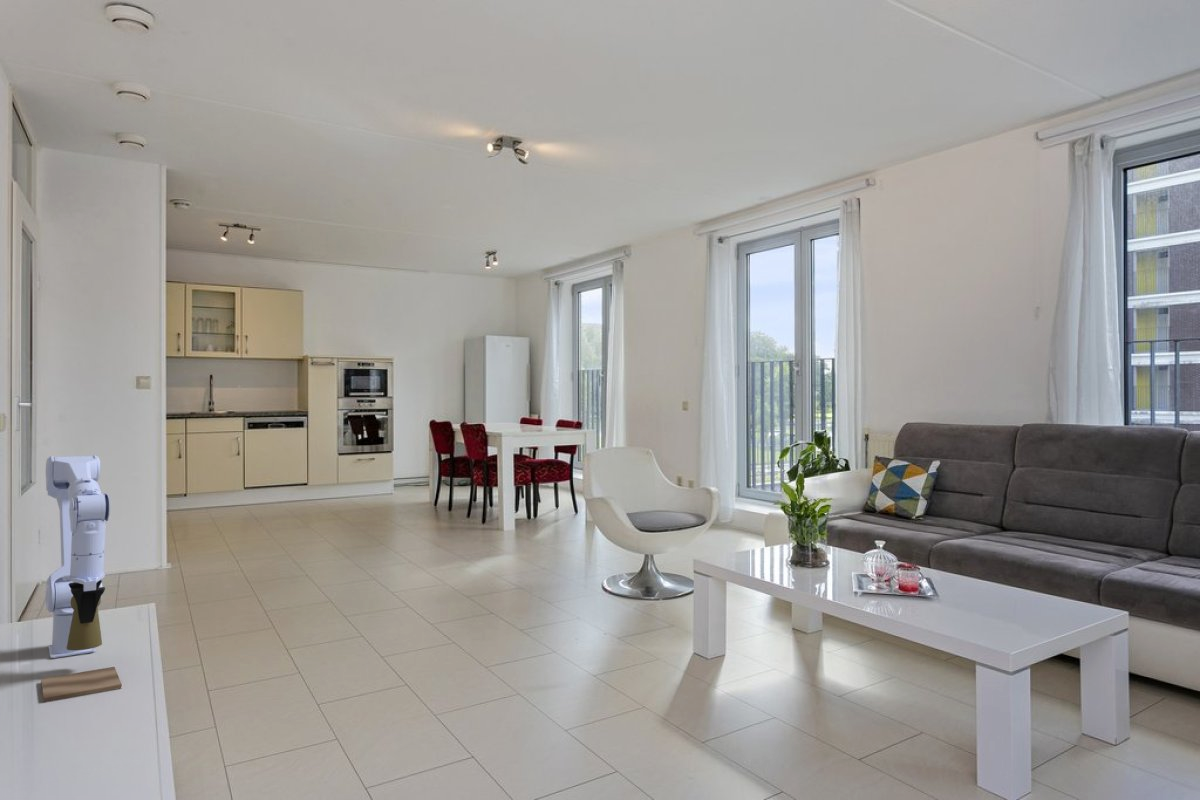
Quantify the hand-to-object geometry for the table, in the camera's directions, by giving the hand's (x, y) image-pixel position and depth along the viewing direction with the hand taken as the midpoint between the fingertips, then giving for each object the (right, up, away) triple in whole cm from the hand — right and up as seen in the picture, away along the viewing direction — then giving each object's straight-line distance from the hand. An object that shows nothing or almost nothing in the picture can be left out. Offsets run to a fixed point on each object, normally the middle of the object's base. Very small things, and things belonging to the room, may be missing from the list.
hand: (85, 619), depth 151 cm
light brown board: (+5, -10, -8) cm, 14 cm away
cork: (0, -6, 0) cm, 6 cm away
